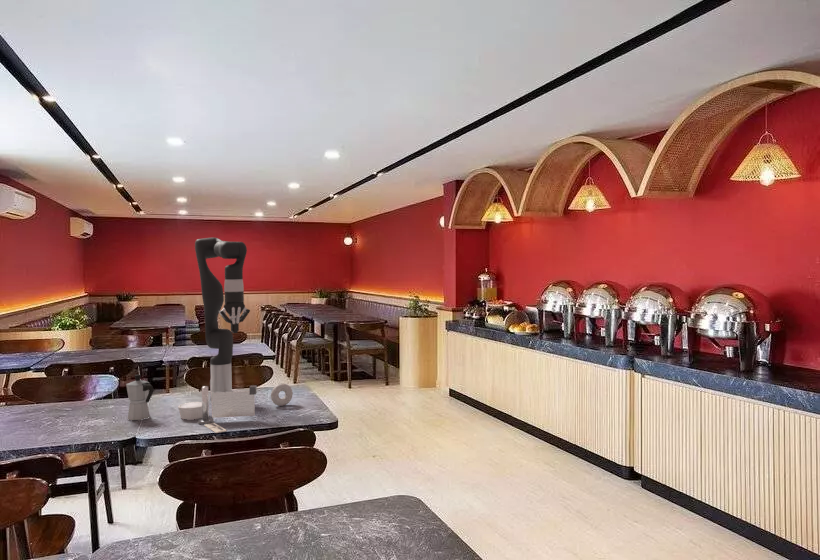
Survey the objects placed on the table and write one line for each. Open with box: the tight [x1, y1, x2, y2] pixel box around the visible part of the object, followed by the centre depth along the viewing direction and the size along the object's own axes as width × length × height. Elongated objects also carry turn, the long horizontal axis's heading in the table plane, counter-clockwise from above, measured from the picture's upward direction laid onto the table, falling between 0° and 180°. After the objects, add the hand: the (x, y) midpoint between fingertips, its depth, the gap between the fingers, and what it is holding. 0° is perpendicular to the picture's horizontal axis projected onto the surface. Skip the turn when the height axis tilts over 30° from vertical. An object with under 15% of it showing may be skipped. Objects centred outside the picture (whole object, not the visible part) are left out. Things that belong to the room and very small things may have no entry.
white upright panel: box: [201, 384, 258, 420], centre depth 234 cm, size 21×3×13 cm, turn 98°
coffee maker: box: [125, 374, 155, 421], centre depth 240 cm, size 15×9×18 cm, turn 65°
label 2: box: [209, 426, 227, 434], centre depth 222 cm, size 6×4×1 cm, turn 38°
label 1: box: [203, 422, 221, 430], centre depth 227 cm, size 6×4×1 cm, turn 38°
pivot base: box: [197, 417, 215, 426], centre depth 233 cm, size 6×6×1 cm
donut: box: [270, 383, 294, 407], centre depth 259 cm, size 10×4×10 cm, turn 125°
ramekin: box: [177, 401, 202, 421], centre depth 242 cm, size 11×11×5 cm
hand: (234, 332), depth 239 cm, fingers closed
